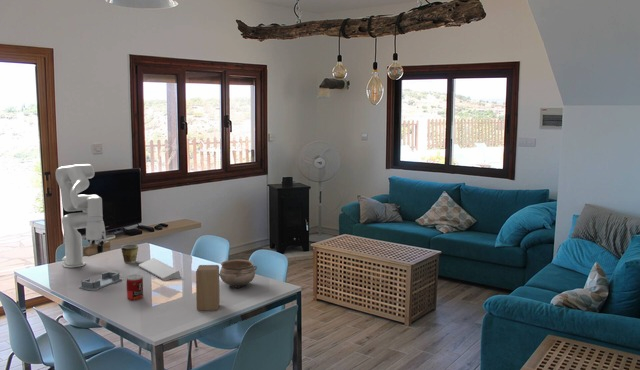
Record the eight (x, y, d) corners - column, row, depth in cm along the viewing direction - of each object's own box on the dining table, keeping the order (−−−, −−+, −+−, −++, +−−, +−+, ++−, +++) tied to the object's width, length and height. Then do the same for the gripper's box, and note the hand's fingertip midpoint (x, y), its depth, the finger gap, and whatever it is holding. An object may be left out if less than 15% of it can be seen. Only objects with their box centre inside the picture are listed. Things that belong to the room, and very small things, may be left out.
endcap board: (79, 288, 295) (78, 281, 295) (107, 277, 315) (107, 270, 314) (93, 290, 292) (93, 283, 291) (122, 279, 311) (121, 273, 311)
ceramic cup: (141, 262, 347) (141, 246, 346) (126, 265, 340) (126, 249, 339) (131, 258, 356) (130, 242, 355) (116, 261, 349) (115, 245, 348)
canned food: (134, 301, 276) (133, 280, 275) (123, 298, 280) (122, 277, 279) (146, 297, 282) (146, 276, 281) (135, 294, 287) (135, 273, 285)
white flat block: (165, 285, 311) (181, 278, 317) (162, 278, 310) (178, 270, 315) (140, 271, 337) (155, 264, 343) (138, 264, 336) (153, 257, 341)
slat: (83, 255, 301) (82, 246, 301) (104, 249, 316) (104, 240, 315) (89, 256, 300) (88, 247, 299) (110, 250, 315) (109, 241, 314)
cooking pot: (247, 277, 319) (247, 256, 317) (266, 285, 305) (266, 263, 303) (208, 285, 303) (208, 263, 301) (226, 294, 288) (226, 271, 287)
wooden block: (199, 304, 274) (198, 264, 271) (219, 303, 274) (219, 264, 272) (196, 311, 264) (195, 270, 261) (217, 311, 265) (217, 270, 262)
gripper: (78, 219, 305) (79, 252, 307) (102, 221, 299) (104, 254, 301) (88, 217, 312) (90, 249, 314) (112, 218, 306) (113, 251, 308)
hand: (96, 251), depth 308 cm, fingers closed on slat, 4 cm apart
